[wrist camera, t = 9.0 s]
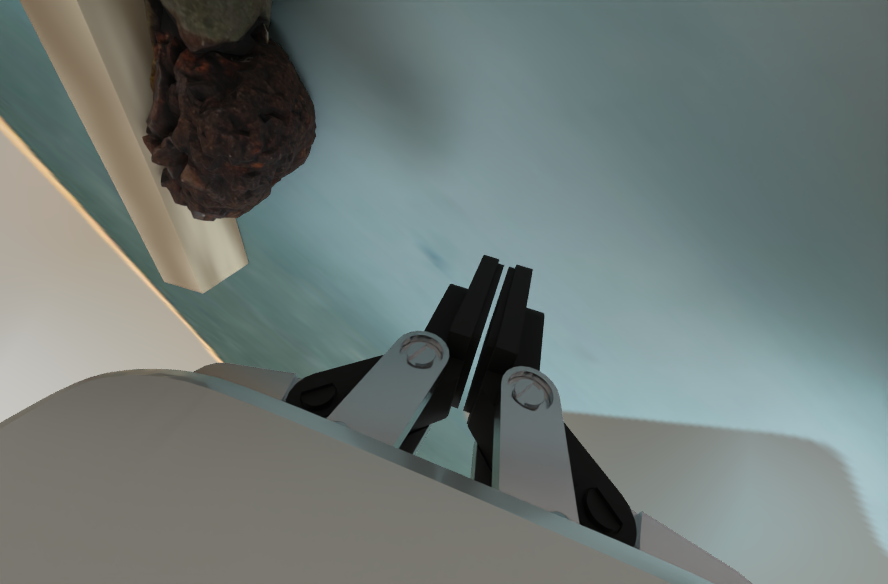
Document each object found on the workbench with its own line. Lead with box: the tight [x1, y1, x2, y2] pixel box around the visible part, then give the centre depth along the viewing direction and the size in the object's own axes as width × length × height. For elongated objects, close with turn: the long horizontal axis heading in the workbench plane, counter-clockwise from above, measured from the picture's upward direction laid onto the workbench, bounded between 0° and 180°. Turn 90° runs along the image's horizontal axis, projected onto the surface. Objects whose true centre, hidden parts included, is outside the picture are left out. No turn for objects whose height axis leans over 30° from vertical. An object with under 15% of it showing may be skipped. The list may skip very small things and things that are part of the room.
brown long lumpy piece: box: [142, 0, 316, 221], centre depth 13 cm, size 18×7×6 cm, turn 155°
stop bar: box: [20, 0, 248, 293], centre depth 16 cm, size 3×20×4 cm, turn 172°
